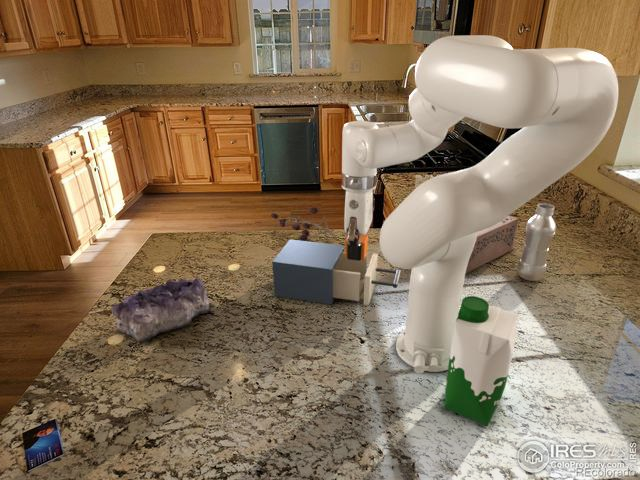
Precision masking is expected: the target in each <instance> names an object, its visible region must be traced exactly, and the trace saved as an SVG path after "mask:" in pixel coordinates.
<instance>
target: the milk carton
mask: <svg viewBox="0 0 640 480" xmlns="http://www.w3.org/2000/svg"><path fill="white" fill-rule="evenodd" d="M518 319H519V314H518V313H516V312H512V311H508V310H506V309H502V308H501V307H498V306H493V305H490V304H489V302H488V301H487V300H486V299H484V298H482V297H479V296H475V295H474V296H473V295H469V296H465V297H463V298H462V299H461V303H460V308H459V313H458V317H457V319H456V322H455V327H454V334H453V340H452V346H451V352H450V359H449V365H448V370H447V371H446V372H447V373H446V381H445V382H446V383H445V393H444V395H445V396H444V409H445V410H448V411H451V412H452V413H454V414H457V415H459V416H461V417H462V416H463V417H465V418H467V419H469V420H471V421H473V422H476V423H479V424H481V425H484V426H486V427H488V426H489V424H490V423H491V420H492V418H493V415H494V414H495V412H496V409H497V408H498V406H499V404H500V401H501V400H502V397H503V394H504V391H505V389H506V385H507V381H508V377H509V372H510V368H511V364H512V360H513V356H514V350H515V345H516V338H517V327H518Z"/></svg>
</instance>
